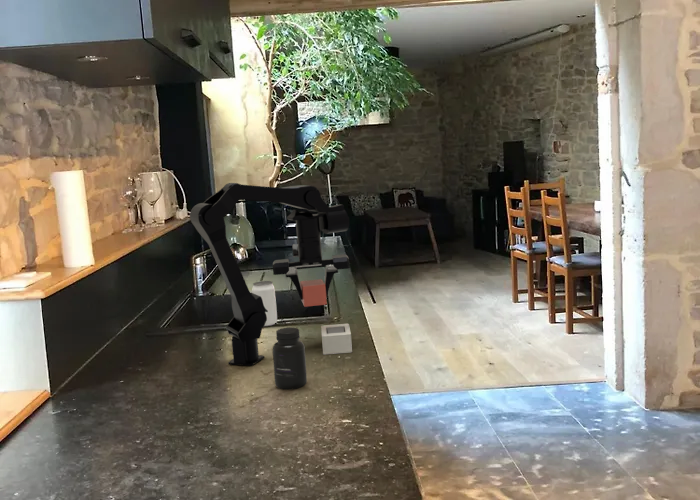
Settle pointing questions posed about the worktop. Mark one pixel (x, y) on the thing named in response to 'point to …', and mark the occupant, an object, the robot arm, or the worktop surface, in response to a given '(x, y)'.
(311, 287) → the salmon red block
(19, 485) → the worktop surface
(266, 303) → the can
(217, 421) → the worktop surface
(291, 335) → the supplement bottle
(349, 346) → the box
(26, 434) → the worktop surface
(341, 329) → the button
